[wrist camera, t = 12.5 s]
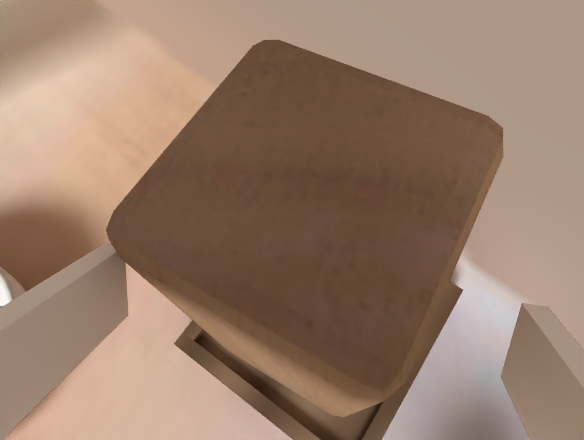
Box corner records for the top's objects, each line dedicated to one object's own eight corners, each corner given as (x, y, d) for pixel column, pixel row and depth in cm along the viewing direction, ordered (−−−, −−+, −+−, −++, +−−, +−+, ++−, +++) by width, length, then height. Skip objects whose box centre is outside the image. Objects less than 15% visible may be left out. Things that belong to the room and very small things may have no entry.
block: (290, 236, 34) (259, 20, 16) (405, 295, 31) (525, 114, 13) (220, 347, 30) (79, 228, 12) (344, 424, 27) (396, 417, 10)
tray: (183, 349, 32) (173, 343, 30) (296, 205, 37) (294, 192, 35) (352, 484, 27) (354, 489, 25) (454, 298, 32) (463, 289, 30)
